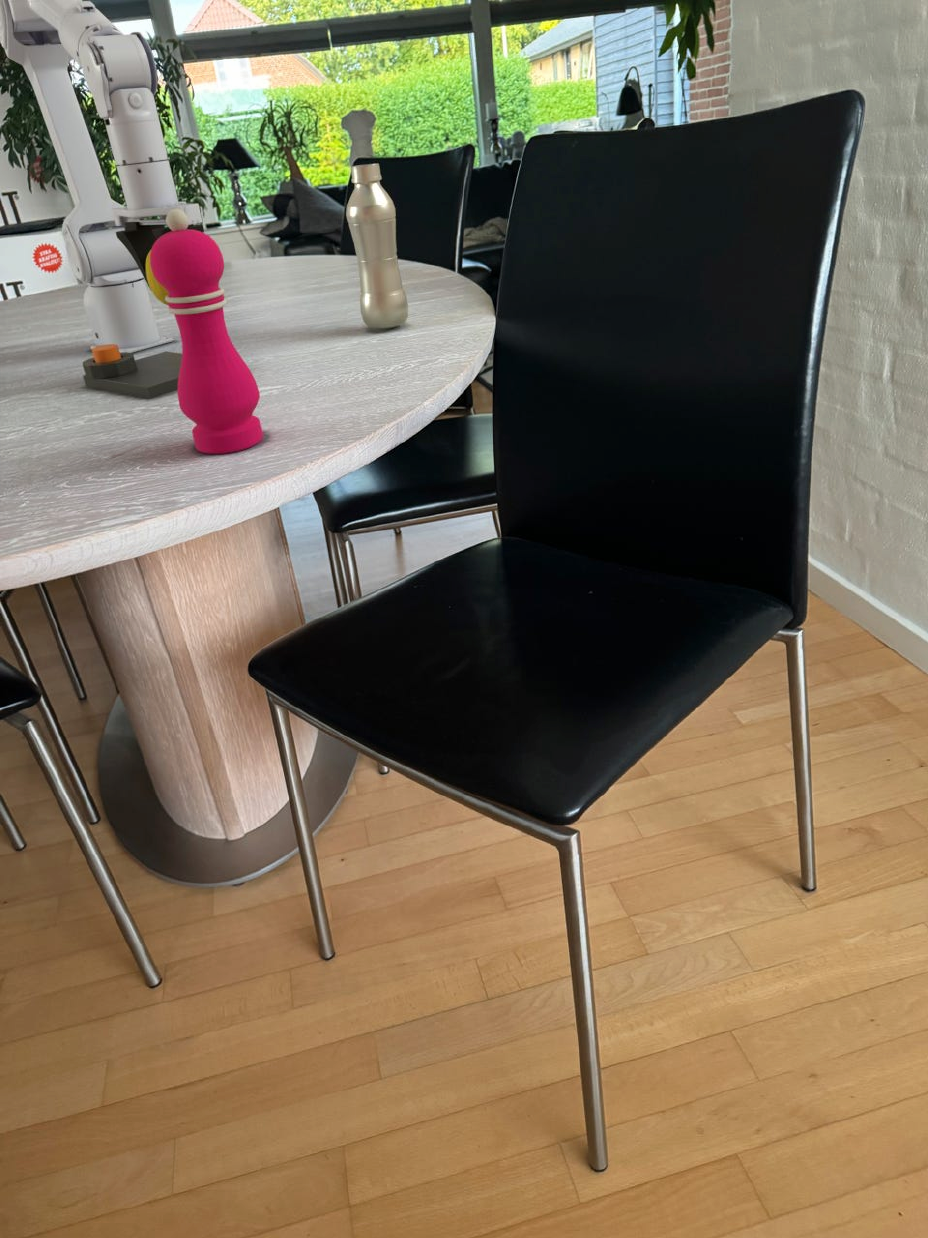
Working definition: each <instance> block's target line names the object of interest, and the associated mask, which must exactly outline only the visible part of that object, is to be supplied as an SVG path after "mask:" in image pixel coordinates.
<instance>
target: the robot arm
mask: <svg viewBox="0 0 928 1238" xmlns="http://www.w3.org/2000/svg"><path fill="white" fill-rule="evenodd" d="M0 45H1V47H2V48H3V50H4V52H5V55H6V57H7V58H8V59H9V60H11V61H12V62H13V61H14V62H15V63H17V64H19V65H21V66H22V68H23V69H24V71H25V74H26V76H27V78H28V80H29V82H30V84H31V86H32V89H33V92H34V94H35V97H36V98H35V99H36V100H37V104H38V105H39V109H40V112H41V114H42V117H43V120H44V123H45V125H46V128H47V131H48V135H49V137H50V140H51V142H52V146H53V148H54V150H55V154H56V156H57V159H58V162H59V165H60V168H61V170H62V174H63V177H64V179H65V182H66V184H67V185H66V186H67V188H68V190H69V193H70V195H71V199H72V202H73V205H74V207H73V208H72V210H71V211H70V212H69V214H68V215H67V216H66V218H65V219H64V221H63V223H62V225H61V226H62V227H61V235H62V238H63V241H64V245H65V251H66V255H67V259H68V262H69V264H70V267H71V269H72V272H73V274H74V275H75V277H76V278H77V279H78V280H79V281H80V282H82V283H83V284H85V285H87V287H86V289H85V291H84V294H83V306H84V311H85V314H86V317H87V320H88V323H89V328H90V331H91V333H92V337H93V341H94V342H95V343H94V345H90V350H92V349H93V348H95V347H98V346H102V345H108V344H116V345H118V348H119V352H120V353H124V352H126V353H133V354H134V353H136V352H140V351H144V350H147V349H151V348H154V347H157V346H161V345H164V344H168V343H172V342H174V338H173V337H169V336H160V333H159V329H158V326H157V322H156V318H155V313H154V311H153V307H152V302H151V299H150V298H151V297H150V295H149V292H148V288H149V291H151V288H150V286H149V284H148V280H147V276H146V258H147V255H148V253H149V252H150V250H151V249H152V246H153V245H154V243H155V242H156V241H157V240H158V238H160V237H161V236H162V235H164V234H166V233H168V232H171V231H172V230H171V229H170V228H169V227H168V225H167V222H166V217H167V214H168V213H169V212H170V211H171V210H174V209H178V210H181V211H183V212H184V213H185V214H186V215H187V217H188V221H189V224H188V228H187V229H190V230H197V231H200V232H203V233H205V228H204V224H203V218H202V213H201V209H200V204H199V203H187V201H179V199H178V194H177V190H176V186H175V182H174V177H173V174H172V168H171V165H170V159H169V156H168V151H167V148H166V142H165V138H164V135H163V131H162V127H161V126H162V125H161V123H160V122H161V121H160V117H159V113H158V108H157V105H156V101H155V95H156V94H157V90H158V83H159V82H158V71H157V65H156V61H155V57H154V53H153V51H152V48H151V46H150V44H149V42H148V41H147V39H146V38H145V37H144V36H143V34H142V33H141V32H140V31H133V32H131V33H129V34H124V33H123V32H122V31H121V30H120V29H119V28H117V26H116V25H115V24H113V22H111V20H110V19H108V18H107V17H106V16H105V15H104V14H103V13H102V12H101V11H100V10H99V9H98V8H96V6H95V4H94V3H93V2H92V1H90V0H0ZM73 60H74V61H75V62H76V64H78V65H79V66H80V68H81V69H82V73H83V76H84V80H85V84H86V85H87V88H88V90H89V92H90V94H91V96H92V98H93V102H94V104H95V108H96V112H97V113H98V116H99V119H103V121H104V125H105V128H106V132H107V136H108V140H109V144H110V147H111V153H112V155H113V158H114V164H115V166H116V171H117V174H118V178H119V181H120V185H121V189H122V193H123V197H124V200H125V204H126V206H124V205H122V204H120V203H119V202H117V201H115V200H113V199H112V198H111V194H110V192H109V189H108V186H107V183H106V179H105V177H104V174H103V172H102V168H101V164H100V162H99V159H98V157H97V156H98V155H97V154H96V153H97V152H96V150H95V147H94V145H93V141H92V139H91V136H90V133H89V130H88V128H87V124H86V121H85V118H84V115H83V112H82V109H81V107H80V104H79V103H80V102H79V101H78V98H77V94H76V92H75V89H74V86H73V83H72V81H71V77H70V75H69V71H68V67H69V63H70V62H71V61H73ZM152 217H159V218H152ZM149 218H151V219H149ZM165 225H166V226H165ZM147 286H148V287H147Z"/></svg>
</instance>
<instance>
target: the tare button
mask: <svg viewBox="0 0 928 1238" xmlns="http://www.w3.org/2000/svg"><path fill="white" fill-rule="evenodd" d="M91 353H92V356H93V357H94V359H95V362H96V363H105V362H110V361H115V360H118V359H121V355H120V352H119V348H118V345H116V344H108V345H102V346H98V347H95V348H93V349H91Z"/></svg>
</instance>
